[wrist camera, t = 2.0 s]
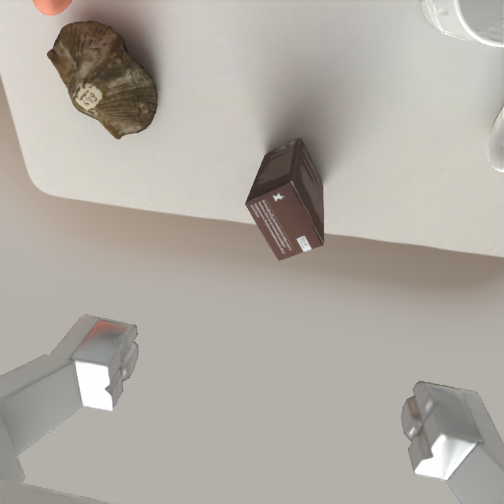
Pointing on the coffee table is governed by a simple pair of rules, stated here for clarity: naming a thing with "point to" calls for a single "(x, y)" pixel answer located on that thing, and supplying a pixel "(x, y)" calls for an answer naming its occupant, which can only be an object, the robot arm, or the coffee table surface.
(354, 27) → the coffee table surface
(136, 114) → the fossilized seashell
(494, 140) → the mug
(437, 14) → the white cup
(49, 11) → the teapot
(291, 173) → the box
